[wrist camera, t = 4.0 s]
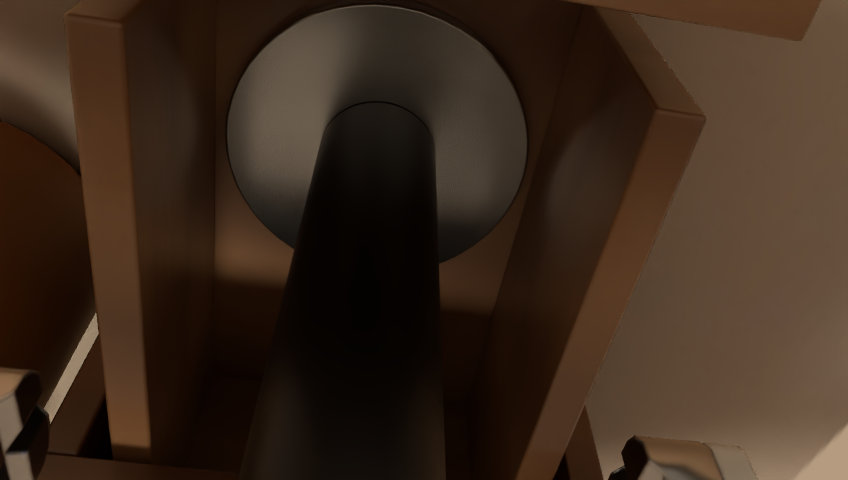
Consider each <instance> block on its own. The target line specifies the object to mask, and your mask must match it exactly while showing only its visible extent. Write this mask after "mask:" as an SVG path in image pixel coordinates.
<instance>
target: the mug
mask: <svg viewBox="0 0 848 480" xmlns="http://www.w3.org/2000/svg"><path fill="white" fill-rule="evenodd" d="M95 313H96V304H95V295H94V286H93V277H92V268H91V259H90V250H89V241H88V233H87V224H86V215H85V206H84V197H83V188H82V179H81V177H80V176H79V175H78V173H77V172H76V171H75V170H74V169H73V168H72V167H71V166H70V165H69V164H68V163H67V162H66V161H65V160H64V159H63V158H61V157H60V156H59V155H58V154H56V153H55V152H54V151H53V150H51V149H50V148H49V147H48V146H46V145H45V144H43V143H41V142H40V141H38V140H37V139H35V138H34V137H32V136H31V135H29V134H27V133H25V132H23V131H21V130H19V129H18V128H16V127H14V126H12V125H9V124H7V123H4V122H2V121H0V365H1V366H9V367H16V368H24V369H31V370H35V371H38V372H40V375H41V379H42V383H43V387H44V391H43V393H42V395H41V397H40V398H39V400H38V402H37V404H38V405H39V406H41V407H42V408H43V409H44V407H45V405H46V403H47V402H48V400H49V398H50V396H51V394H52V393H53V391H54V389H55V387H56V385H57V384H58V382H59V380H60V378H61V376H62V374H63V372H64V370H65V369H66V367H67V365H68V363H69V361H70V359H71V357H72V355H73V353H74V351H75V349H76V347H77V346H78V344H79V342H80V340H81V338H82V336H83V335H84V333H85V331H86V329H87V327H88V326H89V324H90V322H91V320H92V319H93V317H94V315H95Z"/></svg>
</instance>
